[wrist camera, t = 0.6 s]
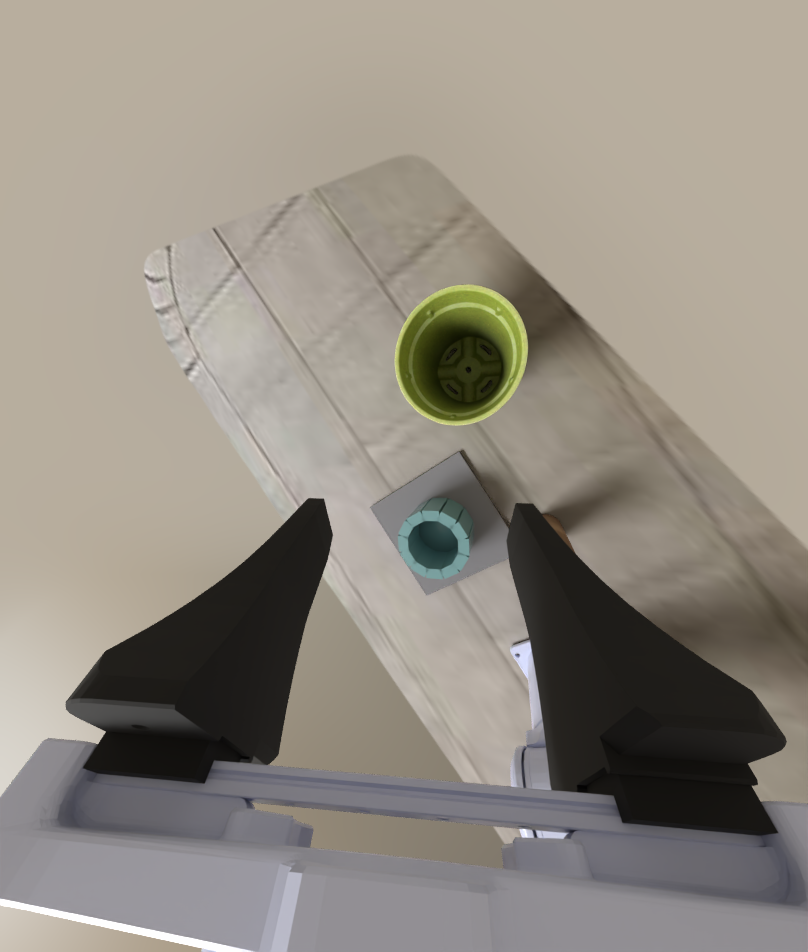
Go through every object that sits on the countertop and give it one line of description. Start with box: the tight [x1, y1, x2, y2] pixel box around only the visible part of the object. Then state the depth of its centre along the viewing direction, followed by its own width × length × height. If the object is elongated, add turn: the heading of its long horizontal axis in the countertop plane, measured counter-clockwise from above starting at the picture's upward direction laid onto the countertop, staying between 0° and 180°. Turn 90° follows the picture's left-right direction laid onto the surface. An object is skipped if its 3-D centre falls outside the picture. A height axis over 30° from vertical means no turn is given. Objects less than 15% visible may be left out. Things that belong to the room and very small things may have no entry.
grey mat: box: [370, 451, 509, 595], centre depth 34 cm, size 12×12×1 cm
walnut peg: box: [543, 514, 575, 553], centre depth 27 cm, size 3×3×8 cm
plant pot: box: [395, 284, 528, 425], centre depth 26 cm, size 9×9×9 cm
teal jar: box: [398, 498, 474, 579], centre depth 32 cm, size 7×7×5 cm
